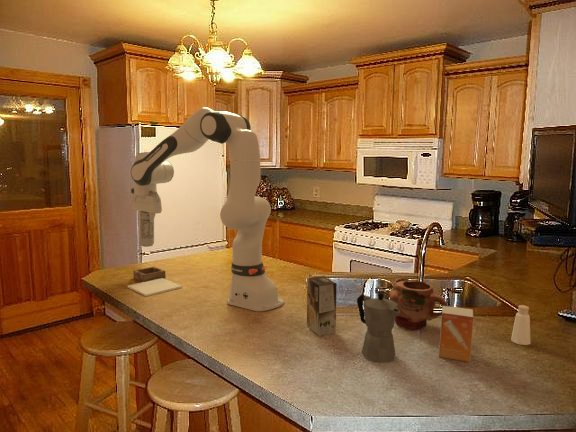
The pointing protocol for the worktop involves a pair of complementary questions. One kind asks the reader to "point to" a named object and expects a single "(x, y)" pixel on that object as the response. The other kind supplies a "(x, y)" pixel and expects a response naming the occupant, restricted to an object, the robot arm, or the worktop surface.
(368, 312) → the coffeepot
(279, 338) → the worktop surface
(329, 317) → the coffee box
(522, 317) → the salt shaker
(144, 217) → the energy drink can
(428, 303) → the decorative planter
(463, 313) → the small box
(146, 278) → the holder
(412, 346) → the worktop surface
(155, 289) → the tile
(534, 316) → the worktop surface
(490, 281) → the worktop surface
